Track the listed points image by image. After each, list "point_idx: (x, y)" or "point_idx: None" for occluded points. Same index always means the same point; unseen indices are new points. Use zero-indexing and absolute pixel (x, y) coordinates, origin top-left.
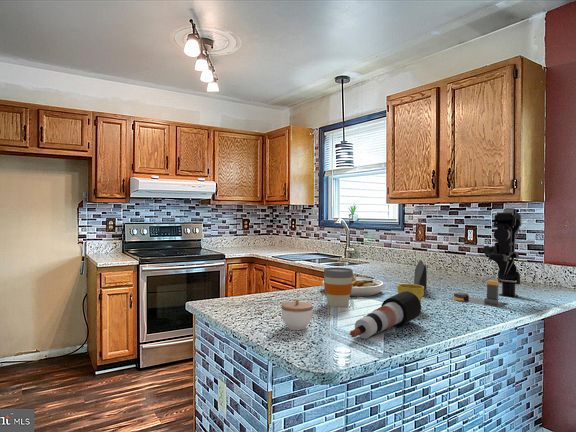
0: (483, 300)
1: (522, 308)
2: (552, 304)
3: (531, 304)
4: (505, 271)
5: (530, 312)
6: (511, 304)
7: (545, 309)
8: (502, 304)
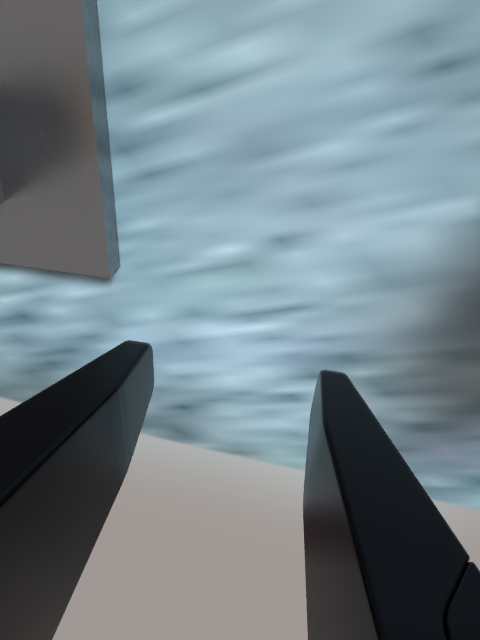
0: (14, 1)
1: None
2: (471, 482)
3: (361, 381)
4: (102, 507)
5: None
6: (230, 260)
7: (238, 454)
8: (18, 238)
